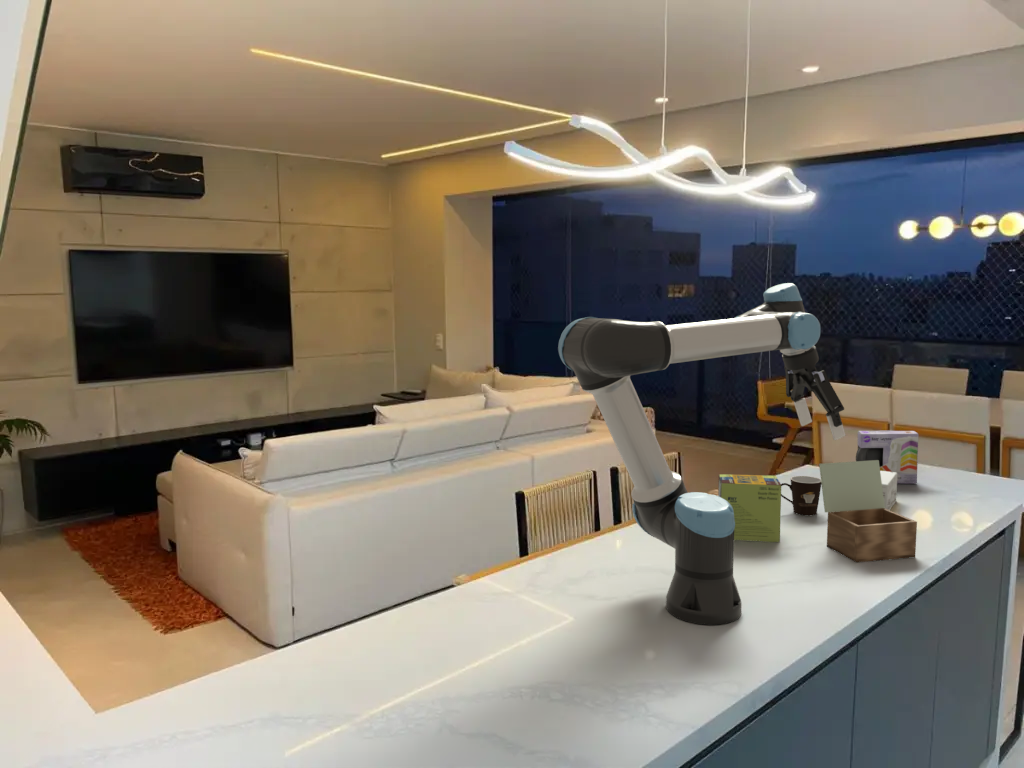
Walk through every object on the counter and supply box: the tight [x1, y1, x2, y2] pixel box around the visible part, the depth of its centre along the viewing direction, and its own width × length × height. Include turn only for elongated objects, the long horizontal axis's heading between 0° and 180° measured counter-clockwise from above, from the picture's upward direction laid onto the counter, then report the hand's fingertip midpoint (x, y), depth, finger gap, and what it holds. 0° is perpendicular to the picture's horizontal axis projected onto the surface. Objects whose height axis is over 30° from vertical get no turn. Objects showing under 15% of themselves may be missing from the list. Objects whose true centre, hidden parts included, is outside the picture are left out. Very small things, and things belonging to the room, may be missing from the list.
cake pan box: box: [855, 430, 919, 484], centre depth 252 cm, size 19×5×18 cm, turn 81°
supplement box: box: [864, 471, 898, 511], centre depth 227 cm, size 17×13×9 cm
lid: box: [818, 460, 885, 513], centre depth 193 cm, size 17×12×1 cm
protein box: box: [717, 474, 782, 543], centre depth 200 cm, size 10×15×16 cm
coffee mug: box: [780, 475, 822, 517], centre depth 221 cm, size 12×9×10 cm
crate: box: [826, 508, 918, 564], centre depth 186 cm, size 16×12×9 cm
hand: (822, 430), depth 177 cm, fingers open, 13 cm apart
